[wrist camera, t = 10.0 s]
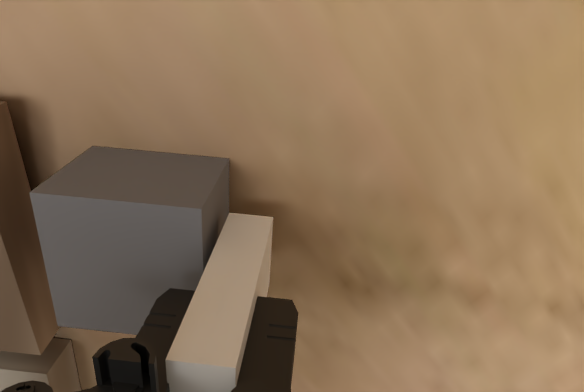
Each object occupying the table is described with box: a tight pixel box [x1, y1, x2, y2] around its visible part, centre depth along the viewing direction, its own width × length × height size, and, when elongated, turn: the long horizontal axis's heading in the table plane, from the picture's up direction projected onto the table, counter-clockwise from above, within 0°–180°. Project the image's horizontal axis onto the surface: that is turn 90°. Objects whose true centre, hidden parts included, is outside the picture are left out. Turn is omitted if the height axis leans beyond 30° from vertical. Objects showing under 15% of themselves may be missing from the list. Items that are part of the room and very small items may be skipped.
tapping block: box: [29, 146, 229, 335], centre depth 16 cm, size 5×5×4 cm
